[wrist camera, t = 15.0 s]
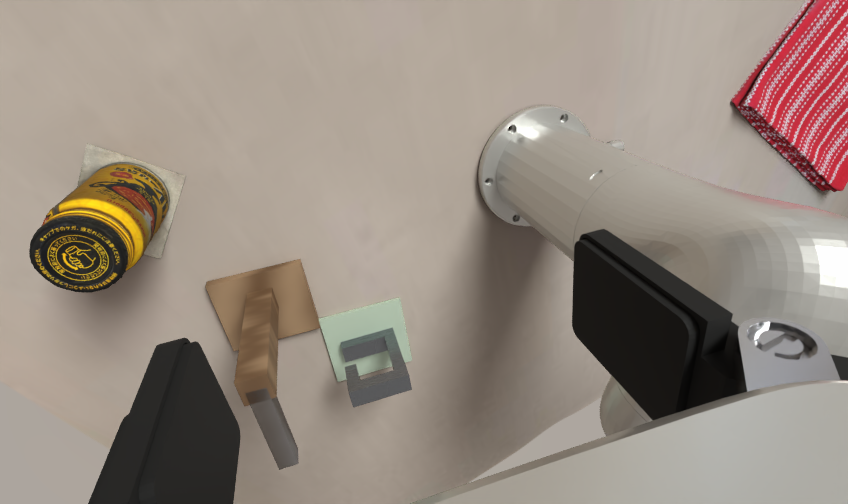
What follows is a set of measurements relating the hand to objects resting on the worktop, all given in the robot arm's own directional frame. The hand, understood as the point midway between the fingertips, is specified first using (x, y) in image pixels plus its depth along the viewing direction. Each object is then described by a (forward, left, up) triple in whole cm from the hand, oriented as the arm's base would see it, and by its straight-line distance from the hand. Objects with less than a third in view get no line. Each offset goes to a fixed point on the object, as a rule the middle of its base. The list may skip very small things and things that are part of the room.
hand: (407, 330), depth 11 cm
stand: (+10, +20, -33) cm, 40 cm away
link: (+1, +26, -33) cm, 42 cm away
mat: (+1, +26, -33) cm, 42 cm away
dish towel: (-58, +9, -34) cm, 68 cm away
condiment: (+18, +5, -34) cm, 38 cm away
